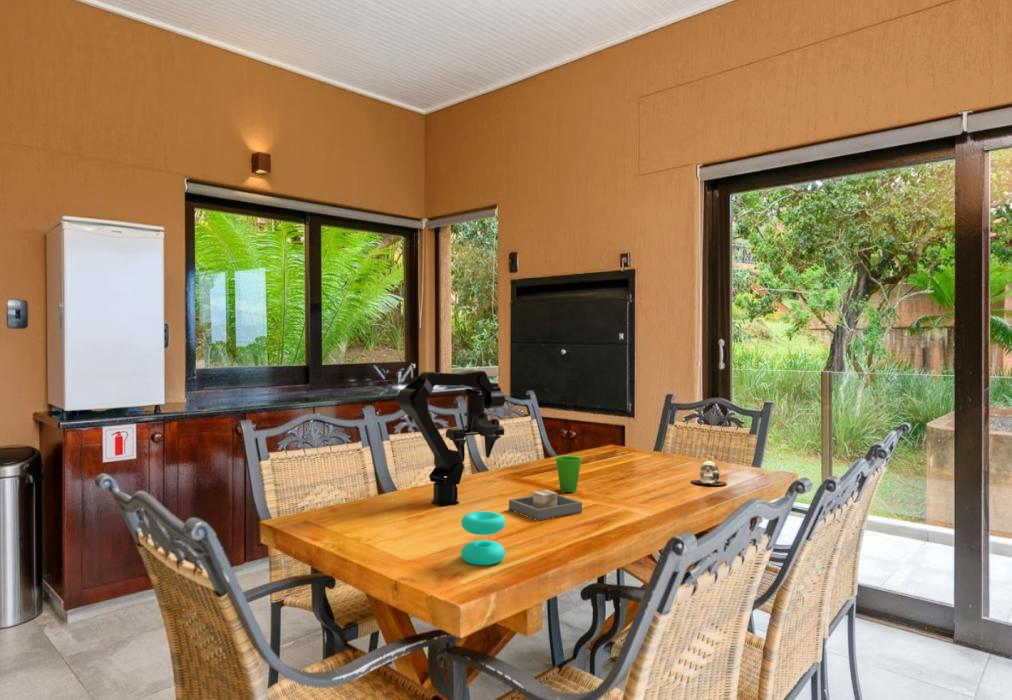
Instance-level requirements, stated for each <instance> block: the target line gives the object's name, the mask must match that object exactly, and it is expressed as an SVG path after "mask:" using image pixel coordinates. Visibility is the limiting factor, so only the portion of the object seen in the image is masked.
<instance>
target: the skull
mask: <svg viewBox="0 0 1012 700" xmlns="http://www.w3.org/2000/svg"><path fill="white" fill-rule="evenodd" d="M699 470H700V471H699V476H700V479H691V480H690V482H691V483H695V484H699V485H700V484H701V485H705V486H706V485H707V486H726V485H727V482H725V481H721V480H720V481H719V479H720V468H719V466H718V465H717V464H716V463H715V462H713V461H710V460H706V461H704V462H703V463H702V464H701V465H700V469H699Z"/></svg>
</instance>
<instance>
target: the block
mask: <svg viewBox="0 0 1012 700" xmlns="http://www.w3.org/2000/svg"><path fill="white" fill-rule="evenodd" d="M557 495H558V492H555V491H552V490H548V489H543V490H536V491H533V492H532V496H533V507H534V508H537V509H541V508H547V507H553V506H557Z"/></svg>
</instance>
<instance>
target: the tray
mask: <svg viewBox="0 0 1012 700" xmlns="http://www.w3.org/2000/svg"><path fill="white" fill-rule="evenodd" d="M509 509H510V510H513V511H516V512H518V513H521V514H523V515H526V516H528V517H531V518H533V519H536V520H541V521H543V520H542V519H546V520H548V519H547V518H552V517H557V518H559V517H558V516H562V517H565V516H564V515H568V516H571V515H570V514H573V515H576V514H575V513H578V514H582V513H583V502H582V501H579V500H575V499H573V498H569V497H566V496H563V495H560V494H557V506H553V507H547V508H541V509H537V508H534V507H533V495H528V496H524V497H518V498H511V499H508V510H509ZM510 510H509V511H510ZM513 511H512V512H513ZM581 512H582V513H581ZM518 513H517V514H518ZM521 514H520V515H521ZM523 515H522V516H523ZM526 516H525V517H526ZM528 517H527V518H528ZM531 518H530V519H531ZM533 519H532V520H533ZM552 519H553V518H552ZM536 520H535V521H536Z"/></svg>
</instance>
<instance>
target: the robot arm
mask: <svg viewBox="0 0 1012 700" xmlns="http://www.w3.org/2000/svg"><path fill="white" fill-rule="evenodd" d="M435 386H460V387H462V388H465V389H464V391H462V392H461V394H460V395H461V396H462V397H466V412H464V416H465V417H466V424H465V425H464V428H460V427H451V428H447V430H446V431H445V438H448V439H449V440H450V441H452V442H453V445H454V446H455V448H456V450H454V449H449V447H448V445H447V444H446V442H445V440H444V438H443V437H442V435H441V433H440V431H439V429H438V428H437V426H436V424H435V422H434V420H433V419H432V417H431V415H430V414H429V403H428V402H429V401H428V399H429V398H430V396H431V395H432V393H433V389H434V388H435ZM501 390H502V389H501V387H500V386H499V387H498V386H493V384H492V382H491V380H490V379H489V377H488V374H487V372H486V371H484V370H473V369H471V370H470V369H468V370H464V371H460V372H455V373H454V372H434V371H423V372H422V373H420V374H419V375H418V376H417V378H415V379H414V380H412V381H411V382H409V383H408V384H407V385H406V386H405V387H404V388H403V389H401V390H400V391H398V394H397V397H396V403H397V405H398V406H399V407H400V408H401V410H403V412H404V413H405V414H406V415H408V416H409V417H410V418H411V419H412V420H413V421H414V423H415V425H416V427H417V428H418V430H419V431H420V433H421V435H422V436H423V438H424V440H425V442H426V444H427V446H428V448H429V449H430V451H431V452H432V453H431V454H432V455H433V464H434V468H433V469H432V470H431V472H430V473H429V475H428V477H429V480H430V482H431V483H433V499H431V500H430V502H431V504H435V505H436V506H439V507H446V506H452V505H457V504H460V502H459V501H458V495H459V494H458V489H459V488H458V486H457V485H460V483H461V480H462V476H463V472H464V469H465V466H464V461H465V457H466V456H465V455H466V453H465V447H466V446H465V444H466V441H467V439H465V437H467V436H476V435H477V436H478V435H480V436H481V437H484V450H485V456H486V458H487V459H489V458H490V456H491V454H492V453H491V452H492V450H493V448H494V445H495V443H496V441H497V440H499V439H501V437H502V436H505V428H504V426H503V425H500V420H499V419H498V418H494V419H489V418H488V413H486V412H485V411H486V410H488V409H499V408H500V409H501V408H503V406H505V404H506V397H505V395H504V393H503V391H501Z"/></svg>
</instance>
